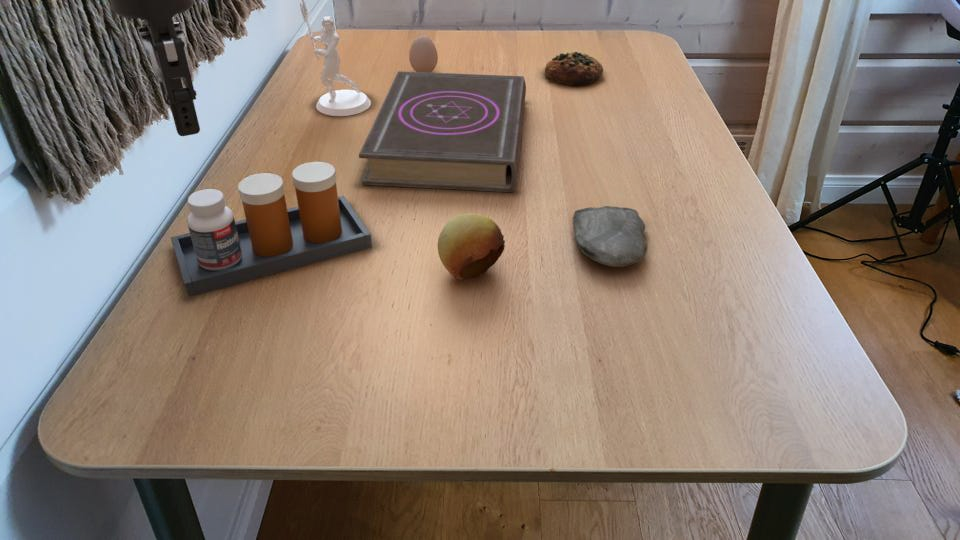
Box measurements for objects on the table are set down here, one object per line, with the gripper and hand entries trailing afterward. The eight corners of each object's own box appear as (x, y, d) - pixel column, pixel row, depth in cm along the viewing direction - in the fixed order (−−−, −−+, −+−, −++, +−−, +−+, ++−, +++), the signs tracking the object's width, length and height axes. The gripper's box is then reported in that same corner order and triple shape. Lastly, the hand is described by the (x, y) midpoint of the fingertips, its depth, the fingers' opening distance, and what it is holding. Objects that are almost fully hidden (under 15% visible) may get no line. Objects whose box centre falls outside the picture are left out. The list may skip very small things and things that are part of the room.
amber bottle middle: (257, 261, 90) (243, 198, 85) (247, 240, 94) (233, 178, 89) (298, 250, 92) (287, 188, 87) (287, 230, 96) (276, 169, 90)
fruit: (513, 263, 91) (515, 208, 86) (483, 302, 85) (484, 245, 80) (458, 248, 94) (457, 194, 89) (426, 284, 88) (423, 228, 83)
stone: (571, 218, 100) (573, 197, 98) (641, 220, 99) (644, 199, 97) (574, 276, 89) (576, 254, 87) (652, 279, 88) (656, 257, 86)
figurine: (308, 98, 130) (293, -6, 119) (359, 88, 134) (349, -14, 123) (325, 120, 123) (310, 11, 112) (378, 109, 127) (369, 3, 116)
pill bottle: (226, 275, 88) (210, 213, 83) (189, 267, 89) (171, 205, 84) (251, 251, 92) (237, 190, 87) (215, 243, 93) (199, 182, 88)
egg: (429, 81, 136) (428, 42, 132) (404, 76, 138) (402, 38, 134) (443, 71, 140) (442, 33, 136) (418, 67, 142) (417, 29, 138)
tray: (188, 297, 85) (184, 283, 84) (174, 250, 93) (170, 237, 92) (372, 247, 94) (370, 234, 93) (345, 207, 101) (343, 195, 100)
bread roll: (565, 90, 133) (566, 62, 130) (532, 77, 141) (532, 50, 139) (614, 81, 137) (616, 53, 135) (580, 69, 146) (581, 43, 144)
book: (399, 98, 130) (397, 70, 127) (525, 103, 129) (526, 76, 126) (362, 185, 106) (358, 154, 103) (516, 192, 105) (517, 161, 102)
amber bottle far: (308, 248, 93) (298, 186, 87) (297, 227, 96) (286, 167, 91) (348, 237, 95) (340, 176, 89) (335, 218, 98) (327, 157, 93)
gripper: (92, -55, 73) (137, 100, 82) (106, -19, 63) (154, 152, 72) (171, -62, 76) (205, 88, 85) (197, -29, 65) (232, 137, 75)
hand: (182, 117), depth 79 cm, fingers open, 8 cm apart
